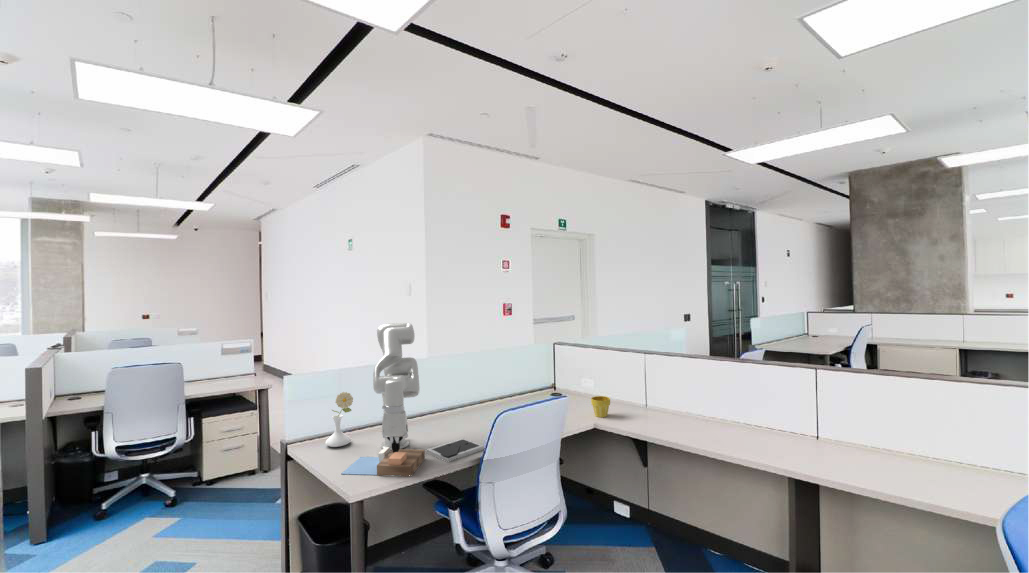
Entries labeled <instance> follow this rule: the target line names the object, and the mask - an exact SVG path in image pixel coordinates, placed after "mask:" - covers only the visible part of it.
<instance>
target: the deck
mask: <svg viewBox="0 0 1029 573" xmlns="http://www.w3.org/2000/svg"><path fill="white" fill-rule="evenodd" d="M398 452H407V458H406V460H405V461H404V462H403V463H402V464H401V465H389V462H388V458H389V457H390V456H391V455H392V454H393V450H390V453H389V454H388V455H387V456H386V457H385V458H384V459H383V460H382V461H381V462H380V463H379V464H378V465H377V475H376V476H382V475H401V476H400V477H412V476H413V475H414V473H415V472H416V471H417V470H418V468H419V467H420V466H419V465H422V463H423V462H424V461H425V459H426V454H425V449H414V448H413V449H408V448H407V449H404V448H402V449H399V451H398ZM423 460H424V461H423ZM418 466H419V467H418ZM415 470H416V471H415ZM414 471H415V472H414ZM412 474H413V475H412ZM409 475H410V476H409ZM411 475H412V476H411Z"/></svg>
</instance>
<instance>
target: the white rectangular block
mask: <svg viewBox="0 0 1029 573" xmlns="http://www.w3.org/2000/svg"><path fill="white" fill-rule="evenodd" d="M390 452H391V450H390V447H385V448H383V449H382V448H381V450H380V451H379V452H378V453H377V457H379V463H380V462H381V461H382V460H383V459H384V458H385V457H386V456H387V455H388V454H389V453H390Z"/></svg>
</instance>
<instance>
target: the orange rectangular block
mask: <svg viewBox="0 0 1029 573" xmlns="http://www.w3.org/2000/svg"><path fill="white" fill-rule="evenodd" d="M406 458H407V452H394V453H393V454H392V455H391V456H390V457H389V458H388V462H389V465H401V464H402V463H403V462H404V461H405V460H406Z"/></svg>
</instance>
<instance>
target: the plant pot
mask: <svg viewBox="0 0 1029 573" xmlns="http://www.w3.org/2000/svg"><path fill="white" fill-rule="evenodd" d="M590 403H591V406H592V409H593V413H594V417H596V418H606V417H608V414H609V407H610V406H611V398H610V397H608V396H606V395H605V396H604V395H597V396H596V395H595V396H592V397H591V398H590Z"/></svg>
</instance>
